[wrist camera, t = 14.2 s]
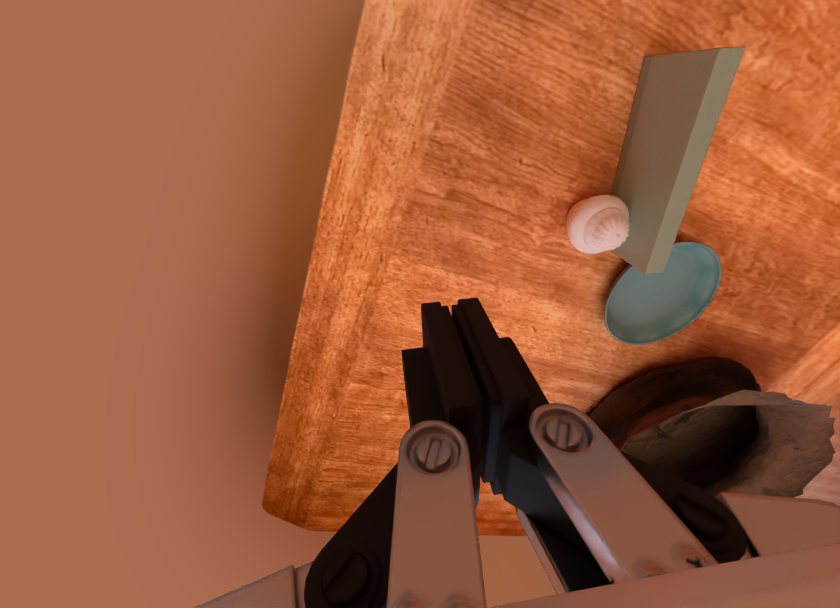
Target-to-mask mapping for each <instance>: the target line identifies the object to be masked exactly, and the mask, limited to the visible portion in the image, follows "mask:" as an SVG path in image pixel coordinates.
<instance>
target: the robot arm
mask: <svg viewBox="0 0 840 608" xmlns="http://www.w3.org/2000/svg"><path fill="white" fill-rule="evenodd" d="M421 314H422V332H423V347H422V348H414V349H406V350H402V361H403V371H404V381H405V389H406V397H407V405H408V413H409V420H410V429H409V430H408V431H407V432H406V433H405V435H404V436H403V438H402V439H401V443H400V447H399V456H398V463H397V464H396V465H395V466H394V468H393V469H392V470H391V471H390V472H389V473H388V474H387V476H386V477H385V478H384V479H383V480H382V481H381V482H380V484H379V485H378V486H377V487H376V488H375V489H374V490H373V492H372V493H371V494H370V495H369V496H368V497H367V499H366V500H365V501H364V502H363V503H362V504H361V505H360V507H359V508H358V509H357V510H356V511H355V512H354V513H353V515H352V516H351V517H350V518H349V519H348V520H347V521H346V523H345V524H344V525H343V526H342V527H341V528H340V530H339V531H338V532H337V533H336V534H335V535H334V536H333V538H332V539H331V540H330V541H329V542H328V543H327V544H326V546H325V547H324V548H323V549H322V550H321V551H320V553H319V554H318V556H317V557H316V559H315V560H314V561H312V562H310V563H308V564H305V565H303V566H301V567H298V568H296V569H295V568H294V566H293V565H291V566H289V567H287V568H285V569H282V570H280V571H278V572H275V573H273V574H271V575H268V576H266V577H264V578H261V579H259V580H257V581H254V582H252V583H250V584H248V585H245V586H243V587H241V588H238V589H236V590H234V591H231V592H229V593H227V594H224V595H222V596H220V597H218V598H215V599H213V600H211V601H208V602H206V603H204V604H201V605H199V606H197V607H194V608H487V607H486V599H485V591H484V581H483V572H482V563H481V555H480V546H479V538H478V528H477V519H476V510H475V508H476V507H477V505H478V501H479V488H480V475H481V478H482V481H483V483H486V482H490V485H491V488H492V491H493V494H494V495H497V494H503V497H504V500H506V501H507V502H509V503H510V504H512V505H513V506H515V510H516V513H517V516H518V518H519V520H520V522H521V524H522V526H523V528H524V530H525V532H526V534H527V536H528V538H529V540H530V542H531V544H532V546H533V548H534V550H535V552H536V554H537V556H538V558H539V560H540V562H541V564H542V566H543V568H544V570H545V572H546V574H547V576H548V578H549V580H550V582H551V584H552V586H553V587H554V589H555V592H556V594H557V595H552V596H547V597H541V598H536V599H531V600H526V601H520V602H515V603H510V604H505V605H500V606H495V607H489V608H840V506H838V505H836V504H834V503H830V502H826V501H821V500H816V499H803V498H790V497H777V496H764V495H751V494H738V493H725V492H720V493H719V495H718V496H717V497H715V496H713V495H711V494H709V493H708V492H706V491H704V490H703V489H701V488H699V487H697V486H695V485H693V484H690V483H688V482H686V481H684V480H682V479H680V478H678V477H676V476H673V475H671V474H669V473H667V472H665V471H663V470H661V469H659V468H656V467H654V466H652V465H650V464H648V463H646V462H644V461H642V460H639V459H637V458H635V457H633V456H631V455H629V454H627V453H624V452H622V451H620V450H618V449H617V448H616V446H615V445H614V444H613V443H612V442H611V441H610V440H609V438H608V437H607V436H606V435H605V434H604V433H603V432H602V431H601V429H600V428H599V427H598V426H597V425H596V424H595V423H594V422H593V420H591V419H590V418H589V417H588V416H587V415H586V414H585V413H583V412H582V411H580V410H578V409H576V408H574V407H571V406H568V405H565V404H558V403H551V404H549V402H548V400H547V399H546V397H545V395H544V394H543V392H542V390H541V388H540V387H539V385H538V383H537V382H536V380H535V378H534V376H533V375H532V373H531V371H530V370H529V368H528V366H527V364H526V363H525V361H524V359H523V358H522V356H521V354H520V352H519V351H518V349H517V347H516V346H515V344H514V342H513V341H512V339H511V338H509V337H505V338H499V337H498V335H497V333H496V331H495V329H494V328H493V326H492V324H491V322H490V320H489V318H488V316H487V314H486V313H485V311H484V309H483V307H482V305H481V303H480V301H479V300H478V298H469V299H460V300H458V305H452V317H451V314H450V311H449V309H448V306H441V303H440V302H433V303H424V304H421Z"/></svg>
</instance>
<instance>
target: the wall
mask: <svg viewBox="0 0 840 608" xmlns="http://www.w3.org/2000/svg"><path fill="white" fill-rule="evenodd" d="M744 49H745V47H723V48H713V49H705V50H696V51H688V52H680V53H671V54H663V55H654V56H646V57H644V60H643V65H642V69H641V73H640V77H639V81H638V85H637V89H636V93H635V98H634V102H633V106H632V110H631V114H630V118H629V122H628V126H627V131H626V135H625V139H624V143H623V147H622V151H621V155H620V159H619V164H618V168H617V172H616V176H615V180H614V184H613V188H612V193H611V195H612V196H615V197H618V198H620V199H621V200H622V201H623V202H624V203H625V204H626V206H627V208H628V211H629V221H628V222H629V223H630V224H629V228H630V231H629V232H628V234H629V236H628V237H626V241H625V242H623V243H622V245H621V246H619V247H616V248H615V249H613V250H610V251H611V252H613V253H614V254H616V255H617V256H619V257H620V258H622V259H623V260H625V261H626V262H628V263H629V264H631V265H632V266H634V267H635V268H637V269H638V270H640V271H641V272H643V273H644V274H648V273H658V272H663V271H664V269H665V266H666V263H667V261H668V258H669V255H670V252H671V250H672V247H673V244H674V241H675V239H676V236H677V233H678V230H679V228H680V225H681V222H682V219H683V217H684V214H685V211H686V208H687V206H688V203H689V200H690V197H691V195H692V192H693V189H694V186H695V184H696V181H697V178H698V175H699V173H700V170H701V167H702V164H703V162H704V159H705V156H706V153H707V151H708V148H709V145H710V142H711V140H712V137H713V134H714V131H715V129H716V126H717V123H718V120H719V118H720V115H721V112H722V109H723V107H724V104H725V101H726V98H727V96H728V93H729V90H730V87H731V85H732V82H733V79H734V76H735V74H736V71H737V68H738V65H739V63H740V60H741V57H742V54H743V52H744Z"/></svg>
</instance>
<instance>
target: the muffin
mask: <svg viewBox="0 0 840 608" xmlns="http://www.w3.org/2000/svg"><path fill="white" fill-rule="evenodd" d="M628 221H629V211H628V208H627V206H626V204H625V203H624V202H623V201H622V200H621V199H620V198H618V197H615V196H612V195H599V196H593V197H589V198H587V199H584V200H582V201H579V202H578V203H576V204H575V205H573V207H571V210H569V213H568V215H567V233H568V236H569V240H570V242H571V244H572V245H573V246H574V247H575V248H576V249H577V250H579V251H581V252H584V253H589V254H595V253H600V252H603V251H606V250H613V249H615V248H616V247H619V246H621V245H622V243H623V242H625V241H626V237H628V236H629V234H628V232H629V231H630V228H629V224H630V223H629V222H628Z"/></svg>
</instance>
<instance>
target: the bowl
mask: <svg viewBox="0 0 840 608" xmlns="http://www.w3.org/2000/svg"><path fill="white" fill-rule="evenodd" d="M831 407H832V406H826V405H817V404H807V403H804V402H802V401H799V400H792V399H791V398H789V397H787V395H786V394H783V393H776V392H761V388H760V385H759V384H758V383H757V382H756V379H755V378H754V376H753V375H752V373H751V371H750V370H749V369H748V368H746V367H745V366H744V365H742V364H741V363H739V362H736V361H734V360H732V359H728V358H719V357H707V358H701V359H699V360H697V361H695V362H692V363H688V364H681V365H677V366H674V367H671V368H663V369H659V370H655V371H652V372H650V373H648V374H646V375H644V376H642V377H640V378H638V379H635V380H633V381H631V382H629V383H627V384H625V385H624V386H622V387H620V388H618V389H617V390H615V391H613V392H612V393H611V394H610V395H609V396H608V397H607V398H606V399H605V400H604V401H602V402H601V403H600V404H599V405H598V407H597V408H596V409H595V410H594V411H593V412H592V413H591V414H590V416H589V418H590V419H591V420H593V422H594V423H595V424H596V425H597V426H598V427H599V428H600V429H601V431H602V432H603V433H604V434H605V435H606V436H607V437H608V438H609V440H610V441H611V442H612V443H613V444H614V445H615V446H616V448H617V449H618V450H620V451H622V452H624V453H627V454H629V455H631V456H633V457H635V458H637V459H639V460H642V461H644V462H646V463H648V464H650V465H652V466H654V467H656V468H659V469H661V470H663V471H665V472H667V473H669V474H671V475H673V476H676V477H678V478H680V479H682V480H684V481H686V482H688V483H690V484H693V485H695V486H697V487H699V488H701V489H703V490H704V491H706V492H708V493H709V494H711V495H713V496H715V497H717V496H718V495H719V493H720V492H725V493H738V494H751V495H764V496H777V497H790V498H794V497H796V496H799V495H801V494H803V489H804V487H805V486H806V485H807V484H808V483H809V482H810V481H811V480H812V479H813V478H814V477H815V476H816V475H817V474H818V473H820V472H821V471H822V470H823V469H824V468H825V467H826V466H827V465H828V464H829V463H830V462H831V461H832V458H833V454H834V453H835V451H834V449H833V447H832V444H831V441H830V438H831V437H832V436H833V434H834V427H833V424H834V419H835V418H829V415H830V410H831Z"/></svg>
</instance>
